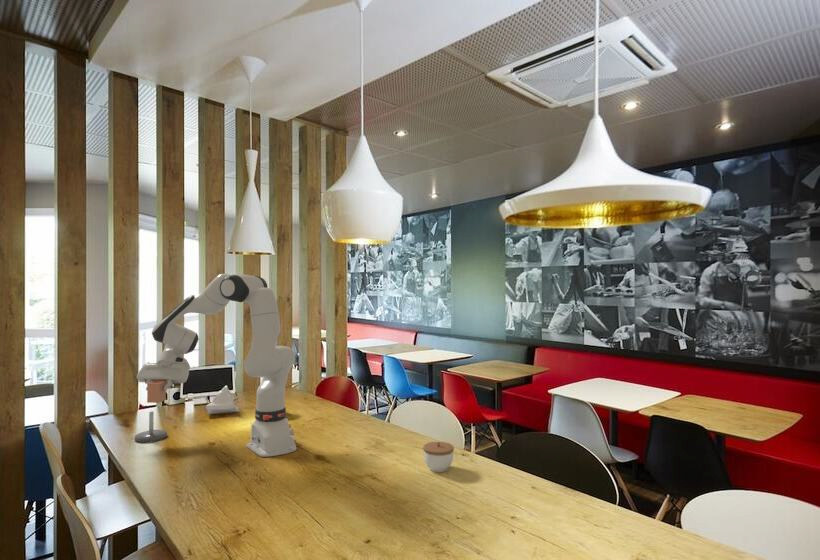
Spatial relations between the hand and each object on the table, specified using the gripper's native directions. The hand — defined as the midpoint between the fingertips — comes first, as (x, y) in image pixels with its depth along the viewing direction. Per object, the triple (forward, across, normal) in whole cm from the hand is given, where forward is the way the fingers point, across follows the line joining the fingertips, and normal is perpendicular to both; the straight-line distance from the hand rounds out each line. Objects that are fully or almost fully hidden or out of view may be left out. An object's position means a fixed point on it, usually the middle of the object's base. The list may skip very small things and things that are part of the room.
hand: (155, 390), depth 189 cm
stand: (+13, -3, +16) cm, 21 cm away
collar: (+3, 0, +4) cm, 5 cm away
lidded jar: (+34, +116, -9) cm, 122 cm away
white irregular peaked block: (-14, +12, +43) cm, 47 cm away
